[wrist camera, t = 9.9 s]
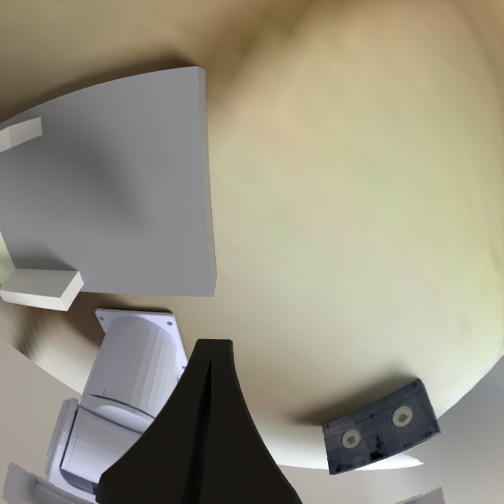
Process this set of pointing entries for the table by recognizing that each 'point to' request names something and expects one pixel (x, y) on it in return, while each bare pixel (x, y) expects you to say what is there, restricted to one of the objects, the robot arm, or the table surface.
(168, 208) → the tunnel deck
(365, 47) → the table surface
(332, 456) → the vhs cassette tape
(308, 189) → the table surface
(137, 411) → the robot arm
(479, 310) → the table surface
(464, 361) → the table surface
